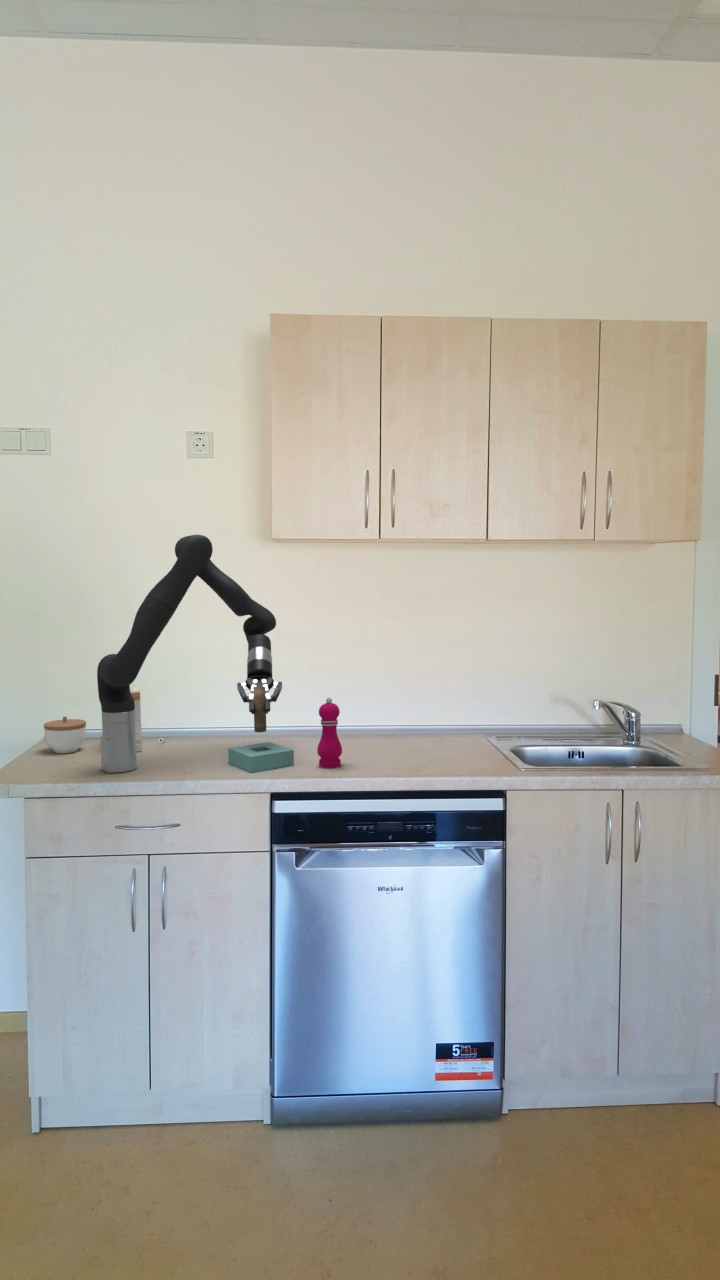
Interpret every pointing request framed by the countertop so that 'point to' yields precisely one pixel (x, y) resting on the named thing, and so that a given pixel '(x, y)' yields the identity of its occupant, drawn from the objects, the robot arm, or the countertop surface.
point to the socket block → (261, 756)
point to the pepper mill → (329, 736)
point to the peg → (259, 709)
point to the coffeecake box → (137, 716)
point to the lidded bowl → (65, 734)
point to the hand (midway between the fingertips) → (259, 712)
